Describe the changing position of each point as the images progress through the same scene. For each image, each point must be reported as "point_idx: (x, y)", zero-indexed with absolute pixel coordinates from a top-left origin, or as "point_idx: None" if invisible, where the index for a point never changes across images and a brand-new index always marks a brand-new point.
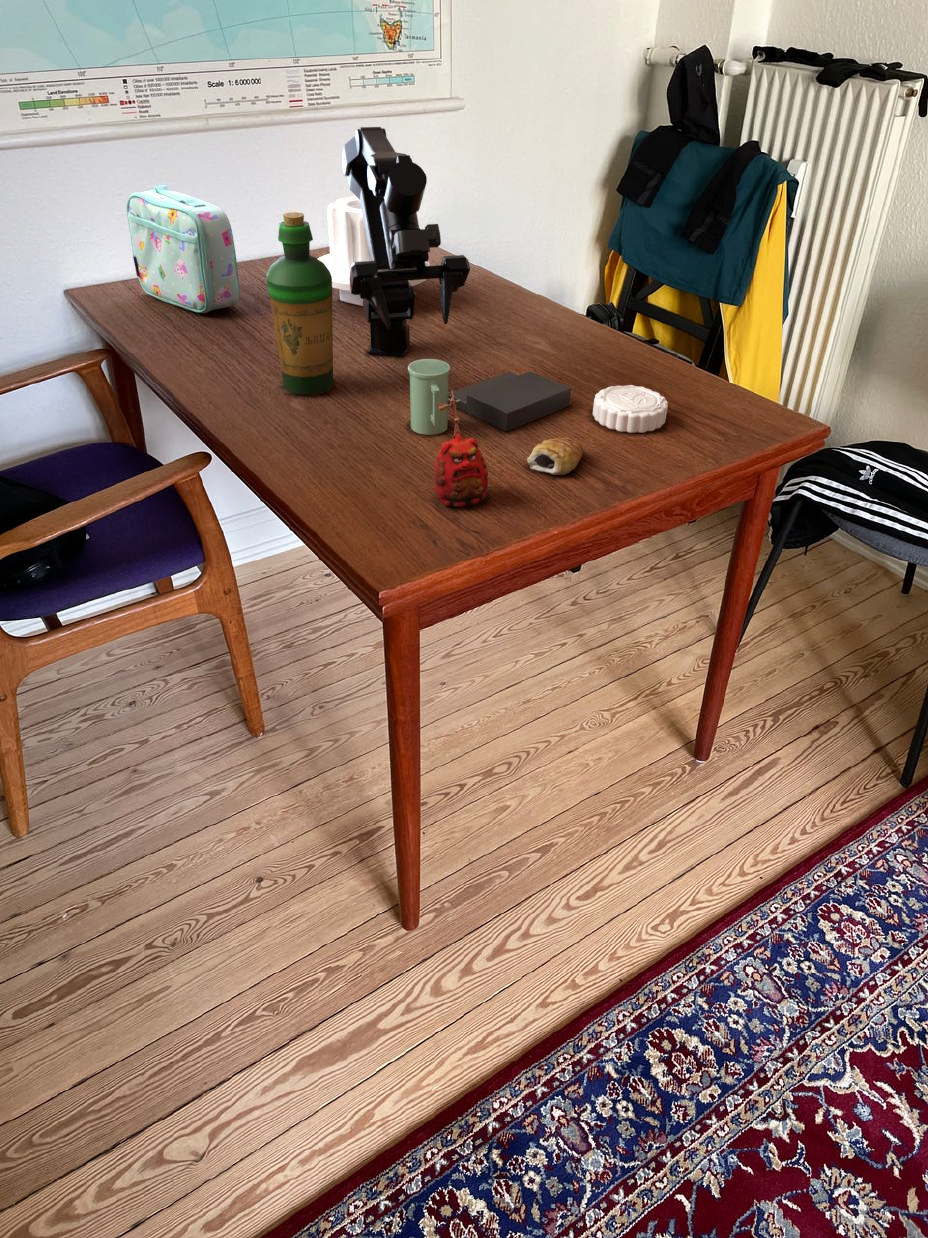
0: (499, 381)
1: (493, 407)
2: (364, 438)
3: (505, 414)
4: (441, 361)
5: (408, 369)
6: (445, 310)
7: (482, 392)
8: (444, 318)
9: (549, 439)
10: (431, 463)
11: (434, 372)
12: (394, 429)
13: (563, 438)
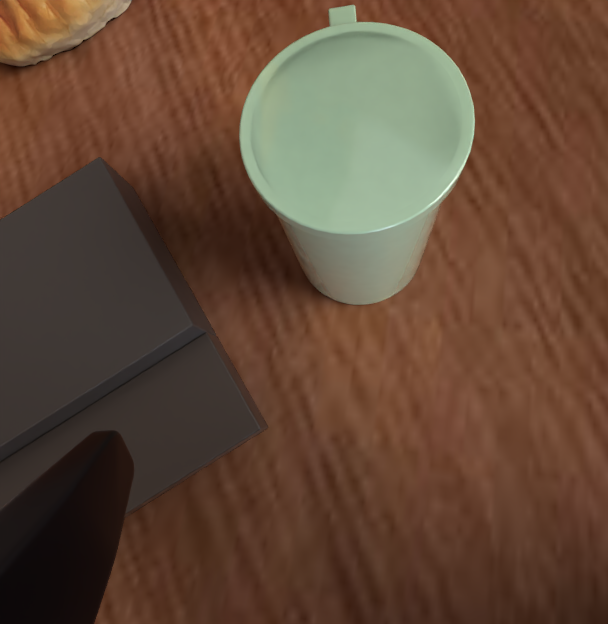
0: None
1: (130, 209)
2: (590, 184)
3: (107, 167)
4: (270, 189)
5: (472, 106)
6: (48, 500)
7: (131, 332)
8: (109, 471)
9: (41, 10)
10: (386, 23)
11: (335, 52)
12: (480, 238)
13: (3, 21)
